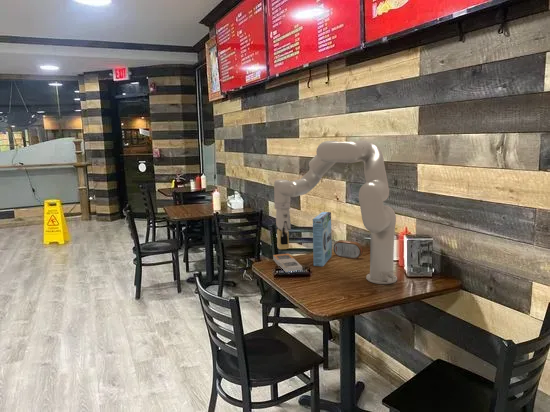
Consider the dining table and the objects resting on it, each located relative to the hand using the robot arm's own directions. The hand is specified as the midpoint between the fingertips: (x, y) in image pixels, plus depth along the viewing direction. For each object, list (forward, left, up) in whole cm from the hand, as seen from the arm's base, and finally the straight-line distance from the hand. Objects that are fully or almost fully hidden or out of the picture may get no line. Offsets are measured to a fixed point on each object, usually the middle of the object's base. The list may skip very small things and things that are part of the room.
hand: (282, 242), depth 204 cm
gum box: (-3, -19, -11) cm, 22 cm away
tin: (-1, -33, -11) cm, 35 cm away
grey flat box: (-6, 0, -10) cm, 12 cm away
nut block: (0, 0, -3) cm, 3 cm away
